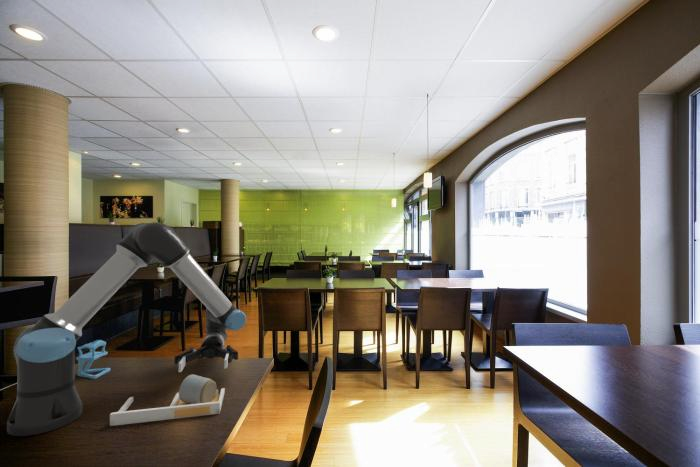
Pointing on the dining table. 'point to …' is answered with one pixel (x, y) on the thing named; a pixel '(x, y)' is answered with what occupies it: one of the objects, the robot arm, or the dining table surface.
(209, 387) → the ceramic mug
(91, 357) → the chair
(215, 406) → the bay rack
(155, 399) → the dining table surface
